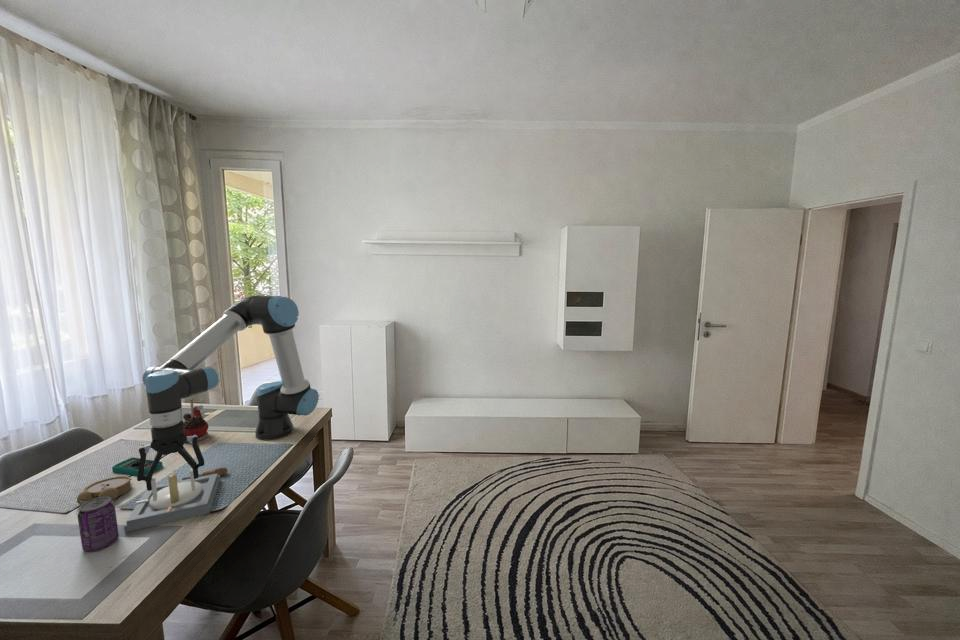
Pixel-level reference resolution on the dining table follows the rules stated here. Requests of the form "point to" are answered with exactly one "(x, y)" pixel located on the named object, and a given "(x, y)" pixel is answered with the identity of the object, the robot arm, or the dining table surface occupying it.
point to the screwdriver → (211, 472)
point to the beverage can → (97, 523)
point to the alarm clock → (105, 489)
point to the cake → (195, 423)
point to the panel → (199, 506)
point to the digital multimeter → (133, 466)
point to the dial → (175, 494)
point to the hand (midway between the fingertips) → (174, 493)
